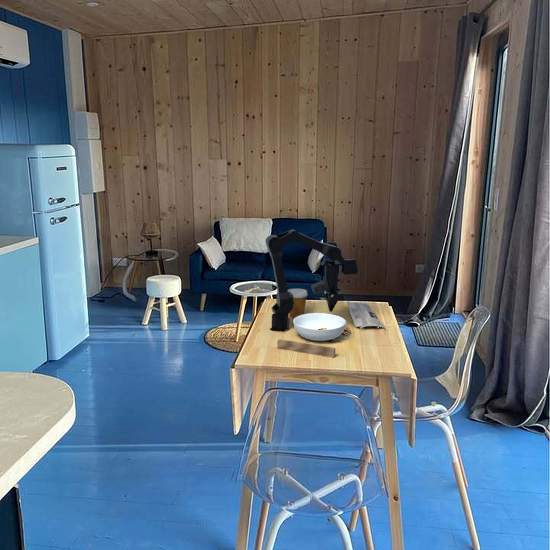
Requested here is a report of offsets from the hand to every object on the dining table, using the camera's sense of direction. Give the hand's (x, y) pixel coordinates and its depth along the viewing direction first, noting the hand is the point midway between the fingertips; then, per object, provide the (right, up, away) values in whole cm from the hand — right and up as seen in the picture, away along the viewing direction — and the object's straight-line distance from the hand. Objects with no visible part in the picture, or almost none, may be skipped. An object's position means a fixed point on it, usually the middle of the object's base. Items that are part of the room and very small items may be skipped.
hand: (330, 311), depth 220 cm
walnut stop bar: (-12, -13, -28) cm, 33 cm away
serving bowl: (-6, -10, -11) cm, 16 cm away
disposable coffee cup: (-14, -3, +14) cm, 20 cm away
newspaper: (+16, -4, +14) cm, 22 cm away
